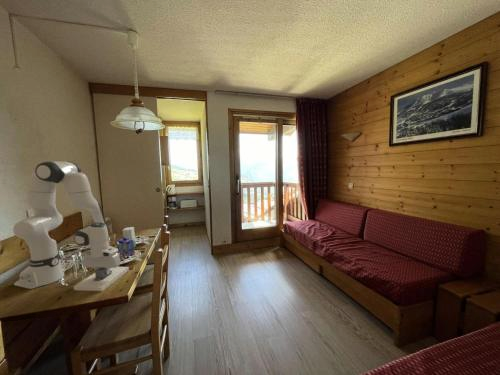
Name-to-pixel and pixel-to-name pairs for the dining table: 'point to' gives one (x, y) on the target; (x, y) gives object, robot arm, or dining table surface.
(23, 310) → the dining table surface
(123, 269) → the pocket plate
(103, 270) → the servo block
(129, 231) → the skincare box
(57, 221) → the robot arm
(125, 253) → the ink cartridge box
